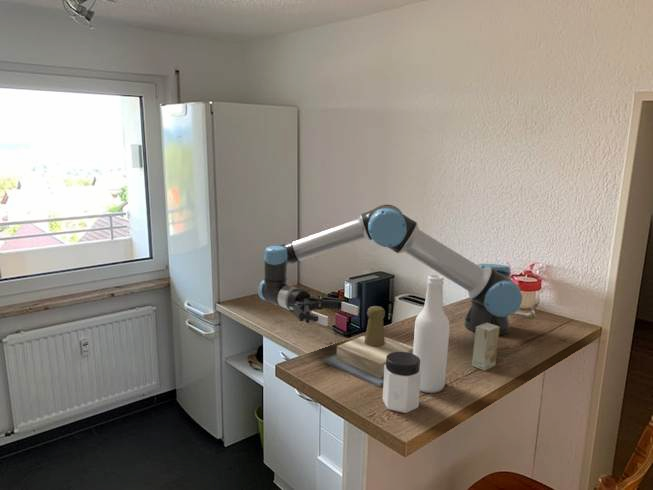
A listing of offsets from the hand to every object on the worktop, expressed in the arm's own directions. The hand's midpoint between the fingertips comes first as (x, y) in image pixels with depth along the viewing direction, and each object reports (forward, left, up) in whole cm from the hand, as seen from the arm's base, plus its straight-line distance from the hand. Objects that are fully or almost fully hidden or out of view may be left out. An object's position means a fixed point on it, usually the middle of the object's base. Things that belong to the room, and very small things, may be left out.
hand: (343, 316), depth 147 cm
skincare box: (-25, +33, -12) cm, 44 cm away
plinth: (-3, +10, -12) cm, 16 cm away
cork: (-5, +8, -7) cm, 12 cm away
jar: (+11, +29, -12) cm, 34 cm away
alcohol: (-2, +29, -12) cm, 31 cm away
